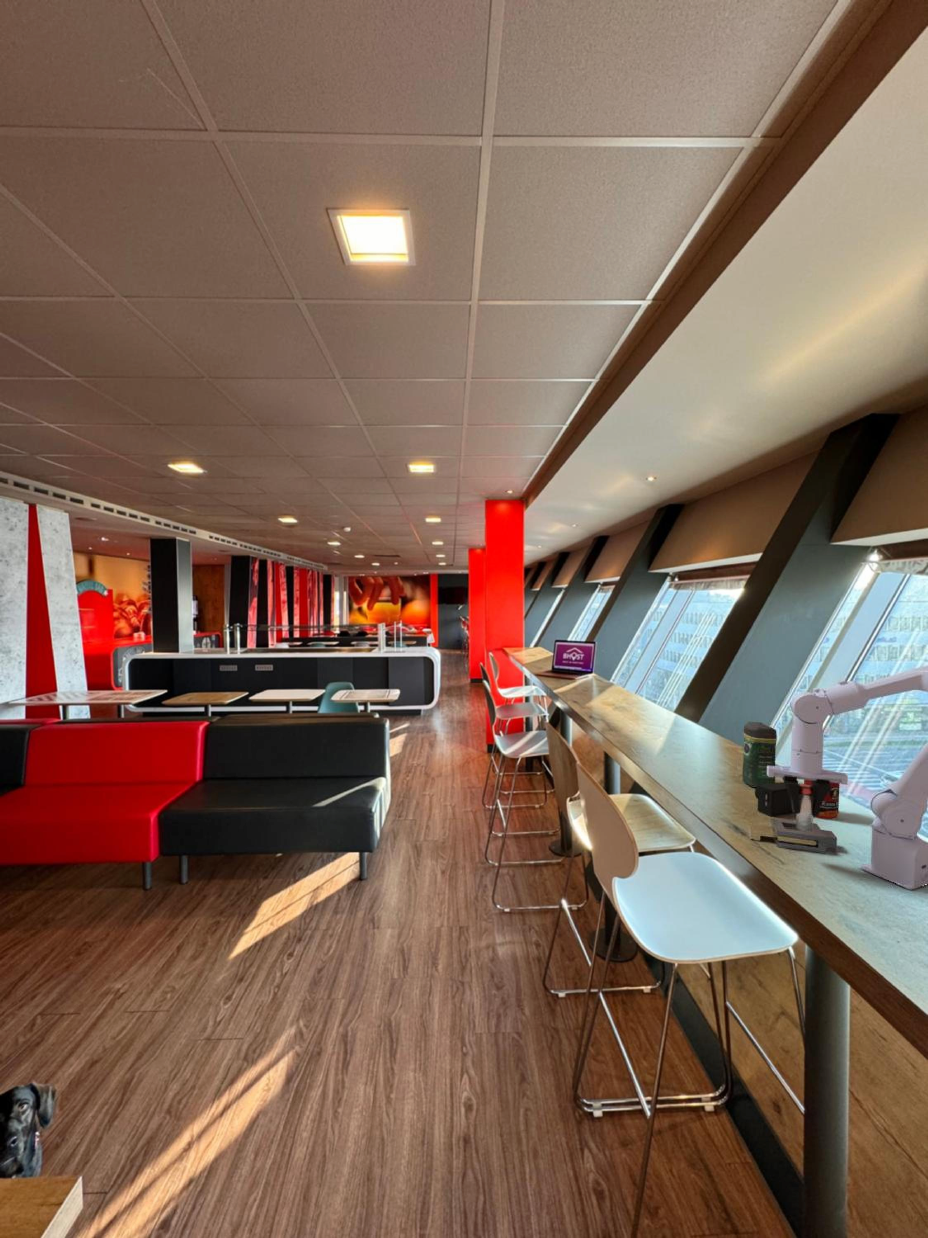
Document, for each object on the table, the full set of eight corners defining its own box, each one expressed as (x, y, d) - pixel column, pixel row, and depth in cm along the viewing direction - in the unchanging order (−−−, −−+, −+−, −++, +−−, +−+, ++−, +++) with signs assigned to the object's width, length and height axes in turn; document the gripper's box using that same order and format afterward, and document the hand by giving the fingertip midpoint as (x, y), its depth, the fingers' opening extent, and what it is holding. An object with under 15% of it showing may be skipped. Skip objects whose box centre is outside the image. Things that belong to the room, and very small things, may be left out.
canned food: (822, 821, 141) (823, 777, 141) (795, 809, 149) (797, 768, 149) (846, 818, 143) (847, 775, 143) (818, 807, 151) (820, 766, 151)
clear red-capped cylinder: (815, 830, 119) (817, 787, 118) (806, 832, 117) (807, 789, 117) (802, 824, 121) (804, 783, 121) (792, 826, 120) (794, 785, 120)
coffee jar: (779, 790, 164) (781, 727, 164) (751, 789, 165) (753, 726, 164) (765, 780, 174) (767, 720, 173) (738, 779, 175) (740, 719, 174)
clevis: (828, 840, 130) (829, 825, 129) (839, 855, 122) (839, 839, 122) (746, 830, 135) (747, 815, 135) (751, 843, 127) (752, 827, 127)
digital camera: (782, 805, 152) (783, 779, 152) (800, 812, 147) (801, 786, 147) (753, 809, 149) (754, 783, 149) (771, 817, 144) (771, 790, 143)
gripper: (841, 748, 120) (838, 811, 121) (765, 742, 125) (763, 802, 125) (851, 757, 114) (849, 823, 114) (771, 750, 118) (769, 814, 119)
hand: (804, 813), depth 119 cm, fingers closed on clear red-capped cylinder, 3 cm apart
